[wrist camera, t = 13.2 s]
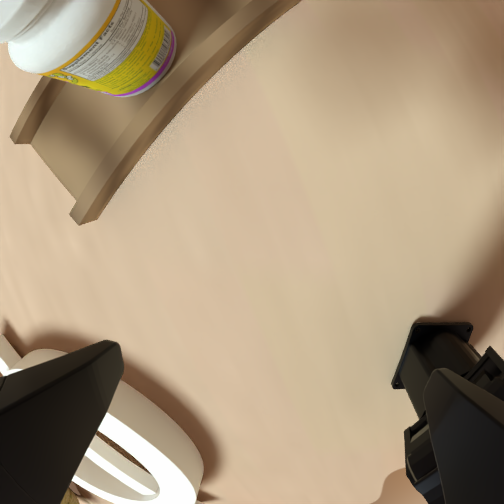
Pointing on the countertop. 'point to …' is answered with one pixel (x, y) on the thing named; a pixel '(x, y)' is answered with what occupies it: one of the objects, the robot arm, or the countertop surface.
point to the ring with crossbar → (129, 446)
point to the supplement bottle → (90, 42)
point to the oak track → (134, 101)
